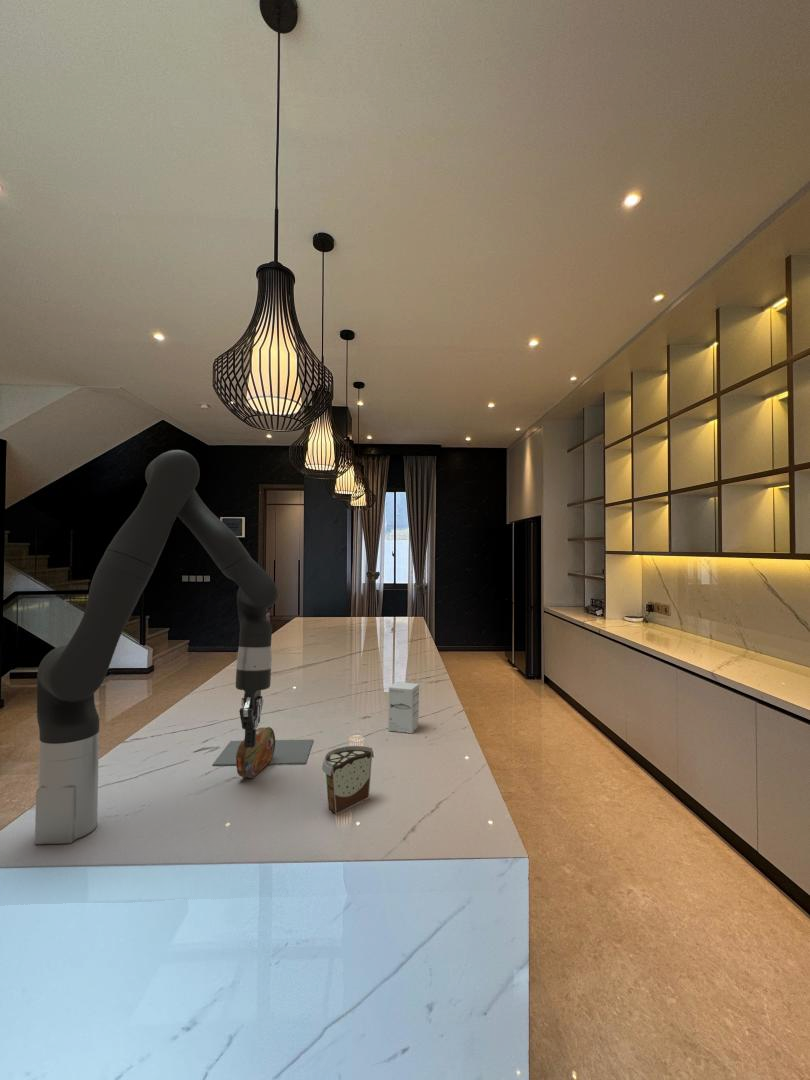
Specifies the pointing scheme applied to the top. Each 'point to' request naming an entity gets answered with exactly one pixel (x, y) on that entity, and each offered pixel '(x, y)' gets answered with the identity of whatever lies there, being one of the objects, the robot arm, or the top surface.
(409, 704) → the supplement box
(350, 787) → the food container
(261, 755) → the tin
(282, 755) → the mat
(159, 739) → the top surface
